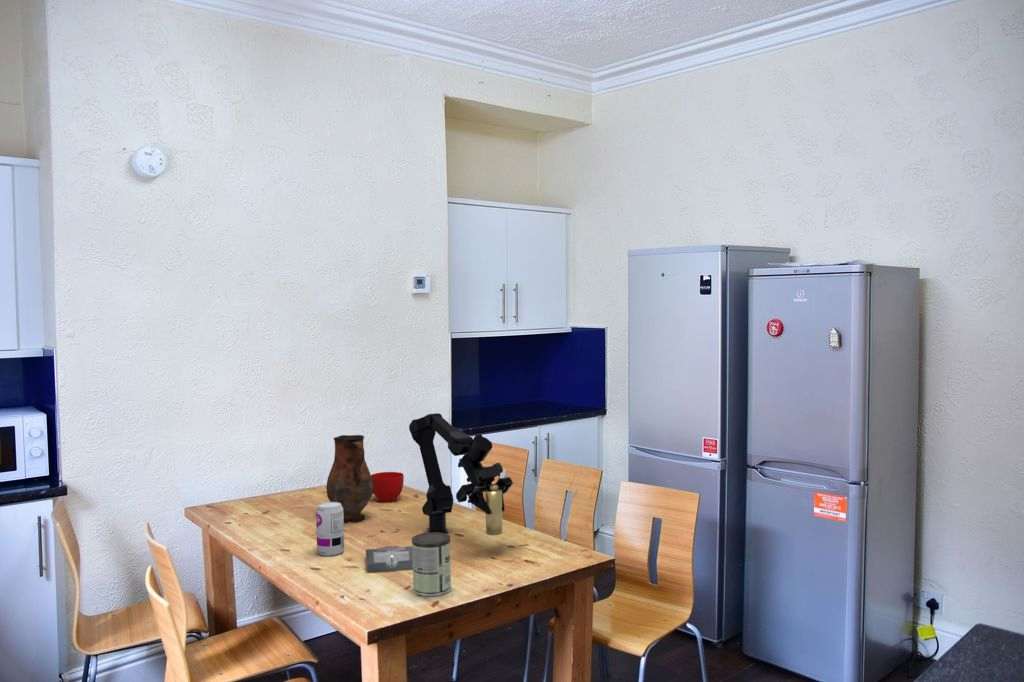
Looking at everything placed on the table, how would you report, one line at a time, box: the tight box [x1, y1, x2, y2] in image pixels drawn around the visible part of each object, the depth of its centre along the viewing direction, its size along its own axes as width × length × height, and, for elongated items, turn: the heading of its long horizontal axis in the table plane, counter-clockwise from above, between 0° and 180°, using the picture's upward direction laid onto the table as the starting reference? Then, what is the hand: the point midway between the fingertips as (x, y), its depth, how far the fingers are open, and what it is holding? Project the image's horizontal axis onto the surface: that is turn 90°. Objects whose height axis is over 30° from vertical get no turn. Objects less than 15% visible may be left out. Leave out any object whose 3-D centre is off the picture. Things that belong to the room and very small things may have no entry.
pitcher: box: [325, 434, 373, 523], centre depth 279 cm, size 17×21×30 cm
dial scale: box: [365, 545, 413, 573], centre depth 231 cm, size 14×14×4 cm
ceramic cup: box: [371, 471, 405, 503], centre depth 308 cm, size 13×17×10 cm
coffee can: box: [411, 532, 452, 597], centre depth 208 cm, size 10×10×14 cm
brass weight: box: [485, 485, 503, 536], centre depth 238 cm, size 5×5×15 cm
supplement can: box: [315, 501, 345, 557], centre depth 242 cm, size 8×8×15 cm
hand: (496, 512), depth 237 cm, fingers closed on brass weight, 5 cm apart
